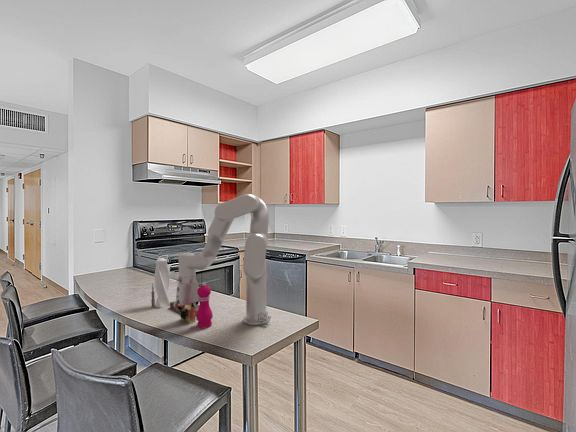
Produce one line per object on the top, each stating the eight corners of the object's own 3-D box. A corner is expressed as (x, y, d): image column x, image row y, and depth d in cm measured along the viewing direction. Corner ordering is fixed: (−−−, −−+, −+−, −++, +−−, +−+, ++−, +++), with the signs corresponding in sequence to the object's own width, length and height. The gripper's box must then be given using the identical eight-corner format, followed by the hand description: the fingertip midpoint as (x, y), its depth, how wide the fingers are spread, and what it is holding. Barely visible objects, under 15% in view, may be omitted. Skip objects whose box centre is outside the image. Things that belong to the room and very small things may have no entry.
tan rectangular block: (195, 322, 145) (195, 308, 145) (189, 323, 143) (189, 309, 142) (186, 317, 150) (186, 304, 150) (181, 319, 148) (180, 306, 148)
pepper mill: (206, 321, 146) (205, 279, 145) (216, 325, 141) (215, 282, 140) (193, 326, 140) (192, 282, 139) (202, 330, 135) (201, 285, 135)
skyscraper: (164, 302, 174) (162, 253, 173) (173, 305, 170) (172, 255, 169) (150, 307, 167) (149, 256, 166) (160, 309, 163) (159, 257, 162)
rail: (205, 313, 156) (205, 307, 156) (191, 318, 150) (191, 312, 150) (183, 304, 171) (183, 299, 171) (170, 308, 165) (169, 302, 165)
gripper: (174, 284, 137) (175, 324, 138) (207, 277, 149) (207, 314, 150) (166, 281, 142) (167, 320, 143) (198, 274, 154) (199, 310, 155)
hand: (188, 316), depth 146 cm, fingers open, 4 cm apart
